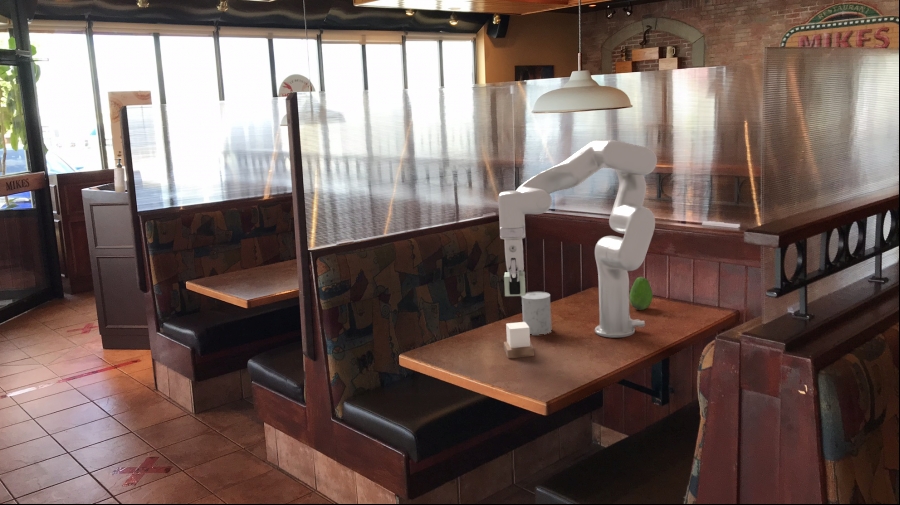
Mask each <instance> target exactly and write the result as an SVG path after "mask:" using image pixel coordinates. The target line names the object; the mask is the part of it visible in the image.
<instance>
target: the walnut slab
mask: <svg viewBox="0 0 900 505" xmlns="http://www.w3.org/2000/svg"><path fill="white" fill-rule="evenodd" d="M534 349H535V348H534V345H533V344H532V342H531V341H530V346H529V347H518V348H510V346H509V345H508V343H507V341H503V350H504V353H505V355H506V357H507V358H508V359H515V358H525V357H534V356H535V350H534Z"/></svg>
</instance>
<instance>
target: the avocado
mask: <svg viewBox="0 0 900 505" xmlns="http://www.w3.org/2000/svg"><path fill="white" fill-rule="evenodd" d="M649 282H650V281H649V280H648V279H647V278H645V277H644V276H639V277H637V278H636V279H635V280H634V282H633V283H632V284H633V285H632V286H631V289H630V290H629V304H630V305H631V306H632V307H633V308H634V309H636V310H639V311H643V310H646V309H648V308H649V307H650V306H651V304H652V301H653V297H654V296H653V290H652V288H651V285H650V283H649Z"/></svg>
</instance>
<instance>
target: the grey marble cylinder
mask: <svg viewBox="0 0 900 505" xmlns="http://www.w3.org/2000/svg"><path fill="white" fill-rule="evenodd" d="M520 298H521V305H522V306H521V309H522V311H521V312H522V322H526V324H527V325H528V326H529V330H530V334H532V335H531V336H540V335H539V334H544V335H548V334H550V333H552V331H551V330H552V313H551V312H552V310H551V309H552V308H551V294H550V293H549V292H545V291H528V292H525V296H520ZM549 332H550V333H549ZM547 333H548V334H547Z"/></svg>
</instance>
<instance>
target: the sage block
mask: <svg viewBox="0 0 900 505" xmlns="http://www.w3.org/2000/svg"><path fill="white" fill-rule="evenodd" d="M511 274H512V273H511ZM516 274H517V273H516ZM525 275H526V272H525V270H523V271H522V272H521V271H519V281H520V294H514V295H510V291H509V281H510V274H509V272H508V271H507V272H506V271H505V272H504V275H503V281H504V283H503V284H504V297H521V296H525V293H526V278H525V277H526V276H525Z"/></svg>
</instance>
